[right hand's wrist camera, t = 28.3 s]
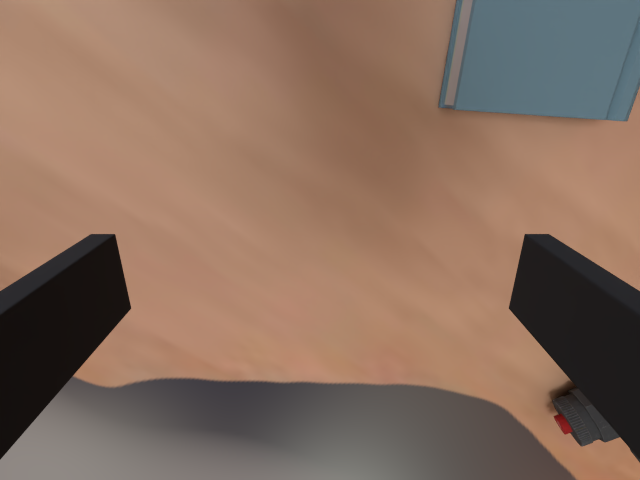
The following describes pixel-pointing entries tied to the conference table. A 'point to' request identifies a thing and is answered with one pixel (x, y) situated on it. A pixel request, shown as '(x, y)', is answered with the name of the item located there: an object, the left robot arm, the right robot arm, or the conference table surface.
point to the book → (544, 58)
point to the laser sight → (582, 419)
